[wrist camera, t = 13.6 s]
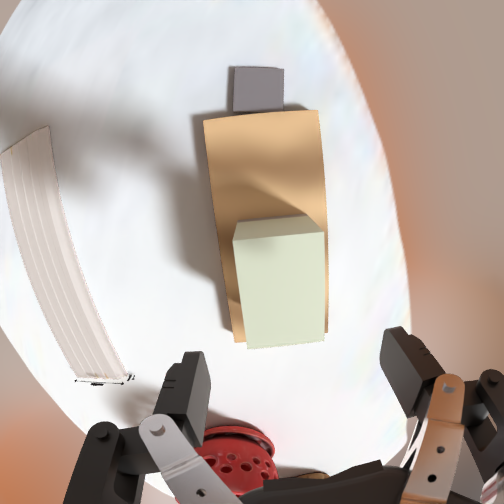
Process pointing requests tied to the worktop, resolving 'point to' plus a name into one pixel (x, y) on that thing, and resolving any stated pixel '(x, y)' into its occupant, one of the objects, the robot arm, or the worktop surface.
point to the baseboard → (55, 259)
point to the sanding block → (281, 280)
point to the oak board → (264, 182)
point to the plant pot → (238, 457)
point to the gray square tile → (258, 90)
